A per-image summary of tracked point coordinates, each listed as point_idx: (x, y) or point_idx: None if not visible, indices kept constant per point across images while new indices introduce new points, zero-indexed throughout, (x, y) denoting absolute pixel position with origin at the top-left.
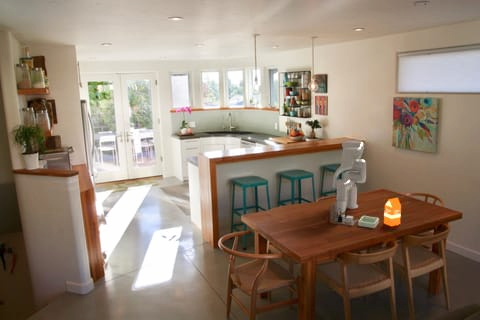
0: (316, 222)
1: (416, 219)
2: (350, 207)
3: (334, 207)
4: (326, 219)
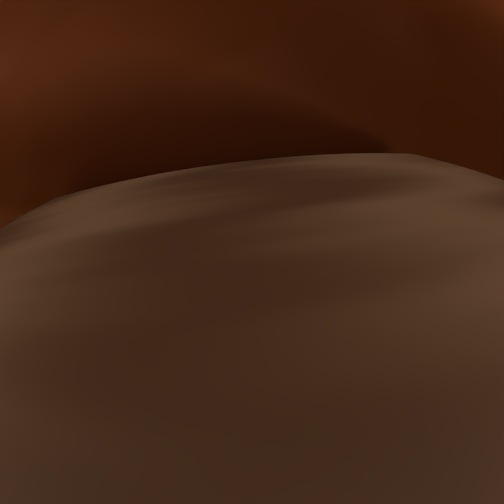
0: (13, 28)
1: None
2: None
3: (408, 440)
4: (214, 38)
